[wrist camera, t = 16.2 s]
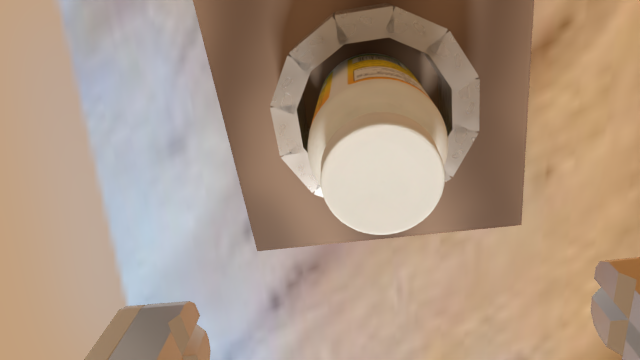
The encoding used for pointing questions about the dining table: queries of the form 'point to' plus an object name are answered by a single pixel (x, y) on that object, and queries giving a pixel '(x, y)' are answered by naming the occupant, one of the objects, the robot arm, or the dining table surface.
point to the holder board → (354, 39)
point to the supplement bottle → (377, 145)
